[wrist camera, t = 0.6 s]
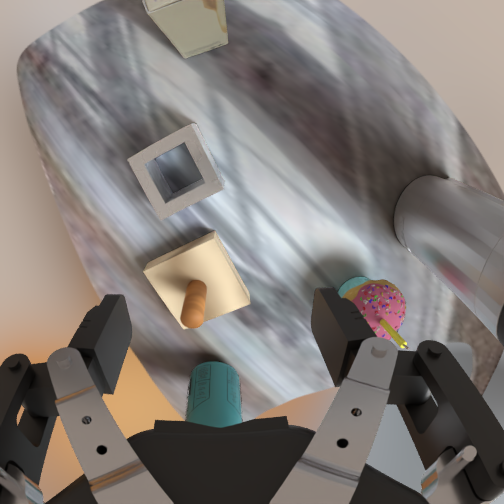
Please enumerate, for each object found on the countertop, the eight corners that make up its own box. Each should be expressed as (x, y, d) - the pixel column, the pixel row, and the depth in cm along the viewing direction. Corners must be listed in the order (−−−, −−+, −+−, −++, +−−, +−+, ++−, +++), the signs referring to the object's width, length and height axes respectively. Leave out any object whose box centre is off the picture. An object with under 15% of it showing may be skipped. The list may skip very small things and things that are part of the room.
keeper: (215, 230, 29) (210, 263, 23) (249, 293, 32) (253, 335, 26) (147, 262, 30) (128, 299, 24) (185, 318, 33) (178, 361, 27)
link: (196, 123, 24) (190, 123, 21) (224, 180, 27) (223, 189, 24) (139, 154, 25) (127, 159, 22) (168, 208, 28) (160, 220, 24)
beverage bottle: (186, 352, 35) (169, 501, 17) (239, 350, 36) (247, 503, 18) (194, 384, 38) (185, 516, 20) (242, 382, 38) (251, 517, 20)
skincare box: (229, 44, 21) (228, -10, 10) (183, 60, 22) (147, 19, 11) (208, -9, 19) (194, -79, 8) (163, 7, 19) (122, -53, 8)
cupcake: (331, 259, 31) (376, 331, 20) (396, 263, 32) (452, 325, 21) (314, 322, 35) (342, 401, 24) (375, 322, 35) (414, 390, 25)
